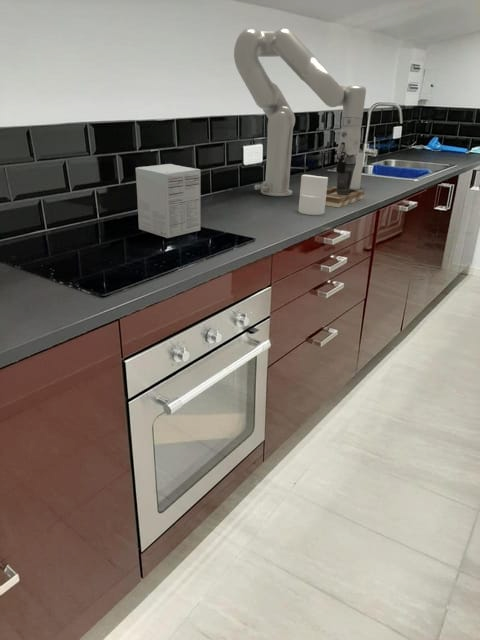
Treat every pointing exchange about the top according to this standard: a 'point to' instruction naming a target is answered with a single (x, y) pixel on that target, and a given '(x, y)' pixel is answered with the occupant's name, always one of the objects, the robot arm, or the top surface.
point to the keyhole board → (342, 197)
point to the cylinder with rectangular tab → (313, 194)
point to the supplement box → (168, 199)
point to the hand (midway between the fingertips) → (345, 171)
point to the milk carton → (357, 171)
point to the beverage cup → (346, 176)
